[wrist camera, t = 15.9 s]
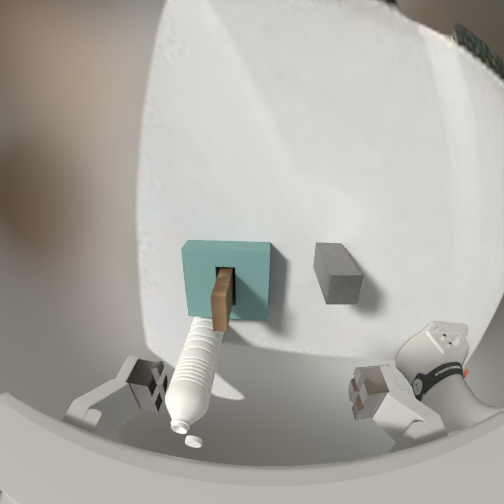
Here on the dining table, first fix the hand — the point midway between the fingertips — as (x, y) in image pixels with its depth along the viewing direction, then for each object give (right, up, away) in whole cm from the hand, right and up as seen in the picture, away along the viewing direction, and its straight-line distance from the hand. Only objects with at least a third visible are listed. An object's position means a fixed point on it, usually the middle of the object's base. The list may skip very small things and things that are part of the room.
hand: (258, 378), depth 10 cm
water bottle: (-8, -10, +43) cm, 45 cm away
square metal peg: (+13, +5, +35) cm, 38 cm away
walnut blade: (-4, +1, +38) cm, 38 cm away
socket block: (-4, +1, +38) cm, 38 cm away
